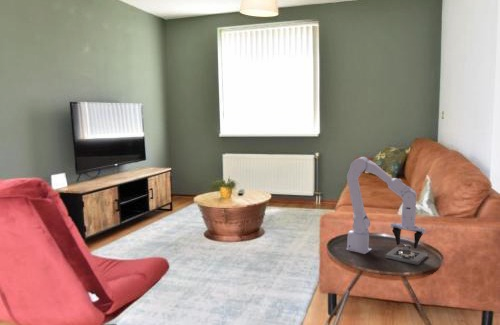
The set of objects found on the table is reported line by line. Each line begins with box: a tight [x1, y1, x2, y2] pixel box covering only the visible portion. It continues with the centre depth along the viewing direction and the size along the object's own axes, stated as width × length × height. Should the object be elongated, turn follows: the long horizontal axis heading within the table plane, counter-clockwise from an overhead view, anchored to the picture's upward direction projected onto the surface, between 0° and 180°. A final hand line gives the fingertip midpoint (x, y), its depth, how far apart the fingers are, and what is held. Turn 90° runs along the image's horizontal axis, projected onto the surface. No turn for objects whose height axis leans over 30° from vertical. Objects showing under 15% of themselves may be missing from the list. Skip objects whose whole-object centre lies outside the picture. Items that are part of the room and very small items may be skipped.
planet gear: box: [397, 243, 416, 259], centre depth 184 cm, size 7×7×6 cm
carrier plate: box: [384, 246, 428, 266], centre depth 184 cm, size 14×14×2 cm
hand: (406, 246), depth 184 cm, fingers open, 7 cm apart
